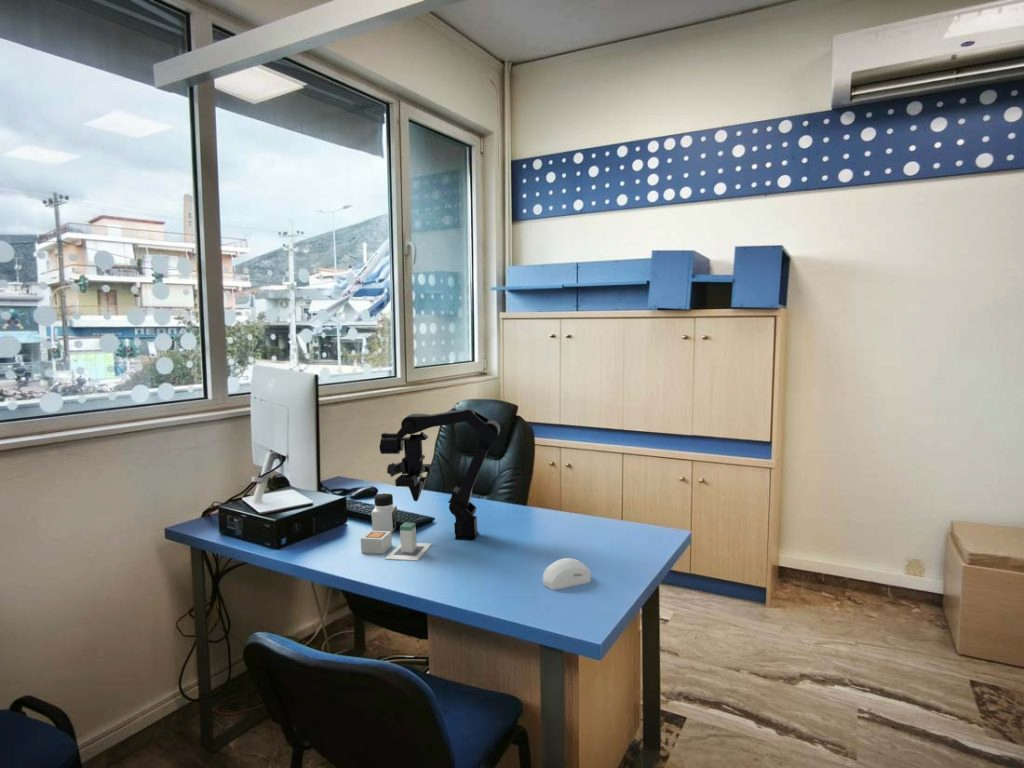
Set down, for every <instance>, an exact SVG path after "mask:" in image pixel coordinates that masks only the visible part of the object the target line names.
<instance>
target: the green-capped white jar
mask: <svg viewBox="0 0 1024 768" xmlns="http://www.w3.org/2000/svg"><path fill="white" fill-rule="evenodd" d="M416 527H417V526H416V522H403V523H402V524H401V525H400V526H399V533H400V534H399V536H400V537H399V538H400V544H401V552H408V553H413V552H414V551H415V550H416V548H417V544H416V543H417V530H416V529H417V528H416Z"/></svg>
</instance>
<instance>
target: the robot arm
mask: <svg viewBox="0 0 1024 768" xmlns="http://www.w3.org/2000/svg"><path fill="white" fill-rule="evenodd" d="M459 423H467V424H468V425H469V426H470V427H471V428H472V429H473V430H475V431H476V432H477V433H479V435H478V439H477V445H476V449H475V452H474V454H473V457H472V459H471V461H470V463H469V467H467V468H468V469H467V471H466V474H465V476H464V478H463V480H462V483H461V485H460V487H459V486H457V485H456V486H455V487H454V488H453V491H452V493H451V497H450V498H449V500H448V502H447V503H449V505H448V510H449V511H450V513H451V514H452V515H454V518H455V522H454V540H472V541H473V540H475V539H476V537H478V536H479V534H480V532H479V531H478V518H477V515H475V514H476V511H477V506H475V505H474V504H473V503H472V502H471V498H472V494H473V489H474V488H473V487H474V485H475V484H476V480H477V479H478V475H479V473H480V471H481V468H482V466H483V463H484V461H485V459H486V456H487V455H488V452H489V450H490V449H491V447H492V446H493V444H494V443H495V442H496V440H497V438H498V436H499V434H500V432H501V426H500V424H499V423H498V422H497V421H495V420H494V419H492V420H491V419H489V418H487V417H486V416H484V415H483V414H480V413H479V412H477V411H476V410H474V409H473V408H471V407H467V408H464V409H458V410H453V411H445V412H440V413H434V414H429V413H427V414H426V413H411V414H409V415H407V416H406V417H404V418H403V419H402V420H401V424H400V427H401V428H400V429H399V430H398V431H397V432H393V433H391V432H390V433H389V432H383V433H381V435H380V437H381V438H380V440H379V441H380V442H379V452H380V454H381V455H400V454H401V452H403V450H404V457H402V459H401V461H399V462H396V463H394V462H392V463H389V464H388V465H387V468H386V474H389V475H390V477H395V475H399V474H400V475H399V476H398V477H397V478H396V479H395V480H394V484H395V485H394V486H395V487H398V488H399V487H400V488H401V487H403V488H404V487H407V488H408V489H409V491H410V494H411V496H412V499H413V501H414V502H418V500H419V498H420V497H421V494H422V491H423V488H424V487H425V483H426V480H427V479H428V477H427V476H424V475H423V474H424V473H427V474H428V475H431V474H432V473H433V472H434V469H433V466H432V465H431V463H424V459H425V458H426V456H425V454H423V441H427V439H428V438H429V435H427V434H425V432H424V431H425V430H427V429H429V428H430V429H431V428H434V427H440V426H441V427H442V426H447V425H453V424H459ZM418 433H419V434H418ZM407 435H409V436H407Z"/></svg>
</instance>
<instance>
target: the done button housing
mask: <svg viewBox="0 0 1024 768" xmlns="http://www.w3.org/2000/svg"><path fill="white" fill-rule="evenodd" d="M372 533H384V535H383V536H382V537H381V538H368V536H370V535H371V534H372ZM392 542H393V541H392V532H391V531H372V530H369V531H368V532H367V533H366V534H364V535H363V536H361V538H360V546H361V547H360V550H361V554H379V555H380V554H381V555H383V554H384V553H385V552H387V551H388V550H389V549H390V548H391V547H392V546H393V543H392Z"/></svg>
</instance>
